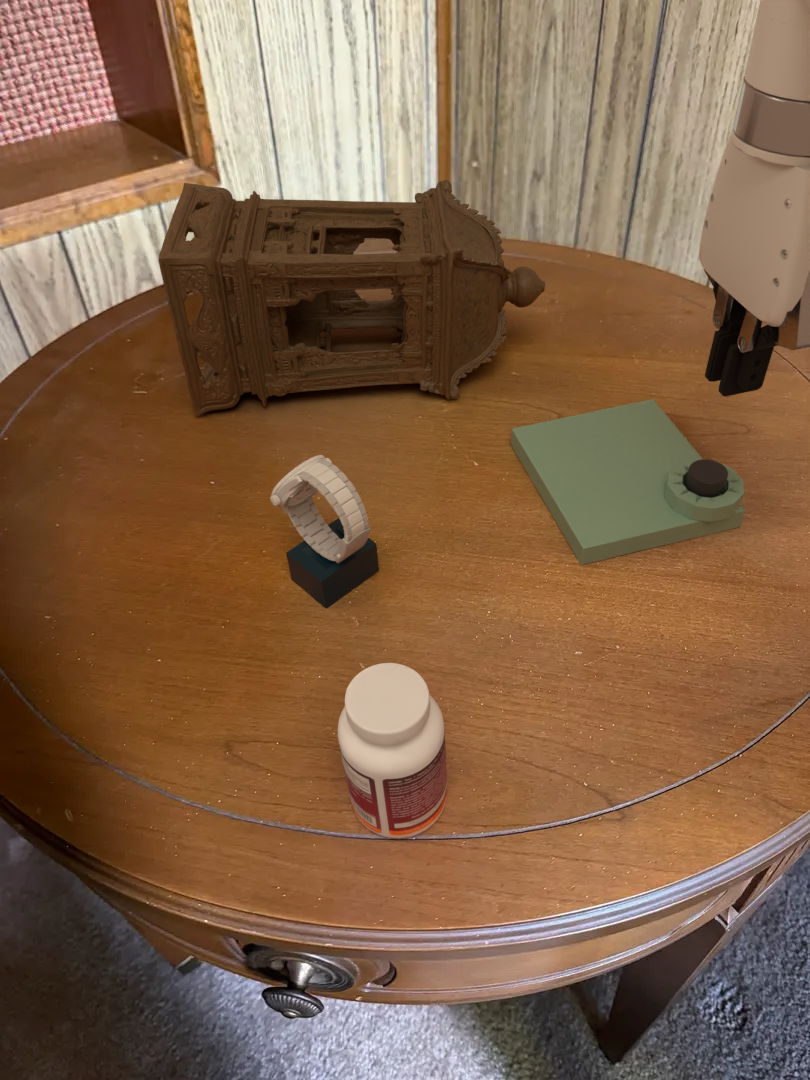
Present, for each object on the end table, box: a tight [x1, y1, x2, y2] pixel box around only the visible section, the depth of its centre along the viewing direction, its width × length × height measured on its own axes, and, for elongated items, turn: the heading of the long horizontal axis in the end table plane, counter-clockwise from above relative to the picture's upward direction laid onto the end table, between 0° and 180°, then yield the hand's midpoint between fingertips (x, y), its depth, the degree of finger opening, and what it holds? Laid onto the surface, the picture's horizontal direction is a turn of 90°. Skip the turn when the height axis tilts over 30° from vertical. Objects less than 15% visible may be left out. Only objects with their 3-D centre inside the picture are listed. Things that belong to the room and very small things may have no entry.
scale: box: [510, 398, 746, 566], centre depth 73 cm, size 16×14×4 cm
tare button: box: [686, 458, 728, 498], centre depth 68 cm, size 3×3×2 cm
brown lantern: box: [158, 179, 546, 417], centre depth 83 cm, size 35×18×18 cm, turn 92°
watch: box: [269, 454, 380, 609], centre depth 64 cm, size 6×8×11 cm
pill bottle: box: [337, 662, 448, 839], centre depth 50 cm, size 6×6×11 cm
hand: (732, 382), depth 62 cm, fingers closed
